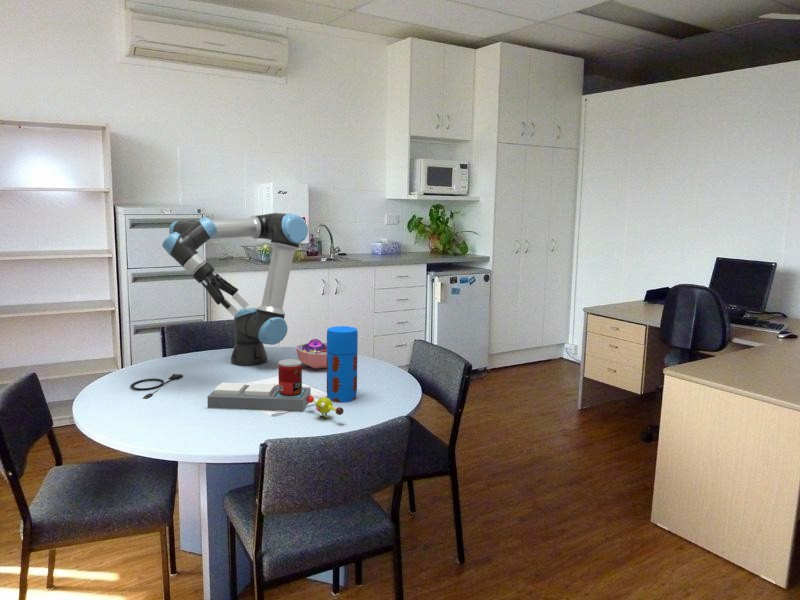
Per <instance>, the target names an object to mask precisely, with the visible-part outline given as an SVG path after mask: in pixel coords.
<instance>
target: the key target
mask: <svg viewBox="0 0 800 600" xmlns="http://www.w3.org/2000/svg"><path fill="white" fill-rule="evenodd" d="M304 392H305V390H302V392H301V394H299V395H296V396H283V395H281V394H280V393H279V392H278V394H277V395H276V396H275V397H298V398H301V397H302V396H303V394H304Z"/></svg>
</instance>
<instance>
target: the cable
mask: <svg viewBox="0 0 800 600" xmlns="http://www.w3.org/2000/svg"><path fill="white" fill-rule="evenodd" d="M183 377H184V375H183V374H180V373H179V374H178V373H173V374H172V375H171V376H170V377H169V378H168V380H166V381H164V380H163V379H162V378H153V377H152V378H144V379H140V380H137V381H135V382H133V383H130V386H129V388H130V389H132V390H133V391H137V392H140V391H142V392H143V391H152V390H156V389H157V390H156V391H154V392H152V393H147V394H146V395H144V396H143V397H142V399H144V400H148V399H150V398H151V397H153V396H154V394H155V393H157V392H158V391H159V390H160V388H161V387H163V386H164V385H165V384H167V383H170V382H171V380H172V381H177V380H180V379H182V378H183ZM146 382H147V383H148V382H160V384H158V385H155V386H151V387H135V386H137V385H139V384H142V383H146Z"/></svg>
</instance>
